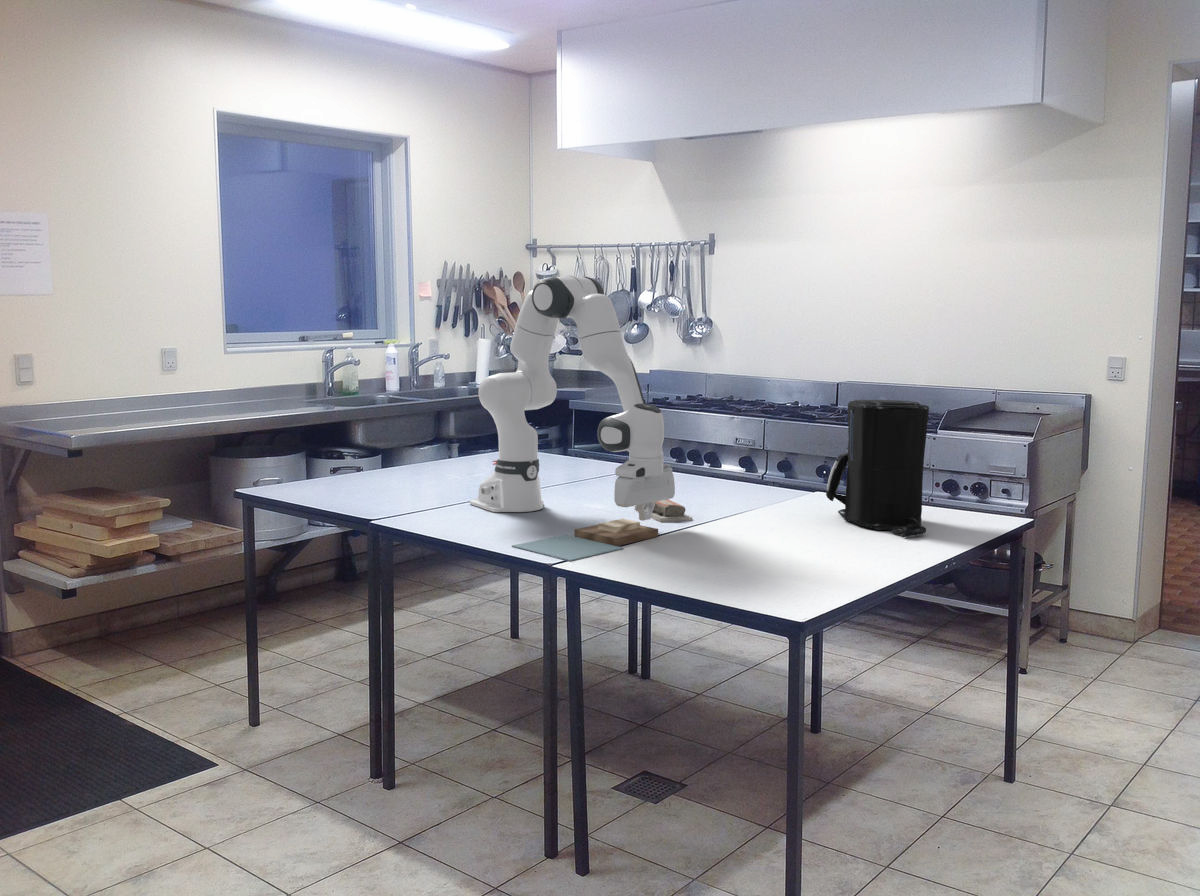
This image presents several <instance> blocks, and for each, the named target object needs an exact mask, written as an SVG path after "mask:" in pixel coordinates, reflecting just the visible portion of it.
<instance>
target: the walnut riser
mask: <svg viewBox="0 0 1200 896" xmlns="http://www.w3.org/2000/svg"><path fill="white" fill-rule="evenodd" d="M573 536H575V537H579V538H583V539H588V540H592V541H597V542H601V543H605V544H610V545H614V546H618V547H621V546H625V545H628V544H632V543H637V542H642V541H645V540H649V539H653V538H657V537H659V528H656V527H650V526H647V525H642V524H640V528H637V529H633V530H628V531H623V532H619V533H613V532H608V531H604V530H599V529H598V524H595V525H594V524H593V525H591V526H586V527H585V526H584V527H580V528H576V529H574V534H573Z"/></svg>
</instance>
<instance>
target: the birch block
mask: <svg viewBox="0 0 1200 896" xmlns="http://www.w3.org/2000/svg"><path fill="white" fill-rule="evenodd" d="M597 525H598V529H599V530H604V531H608V532H613V533H619V532H623V531H628V530H633V529H637V528H640V525H641V522H640V521H636V520H631V519H626V518H618V519H613V520H610V521H609V520H608V521H605V522H604V521H603V522H599V523H598V524H597Z"/></svg>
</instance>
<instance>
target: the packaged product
mask: <svg viewBox="0 0 1200 896" xmlns="http://www.w3.org/2000/svg"><path fill="white" fill-rule="evenodd" d="M646 506H647V505H646ZM635 510H636V511H635ZM644 510H646V507H645V508H644ZM634 511H635V512H637V511H638V510H637V508H636V506H634ZM651 518H652V520H653V521H657V522H658V521H659V522H658V523H667V522H668V523H669V522H670V523H671V521H672V522H685V521H693V516H690V515H688V514H686V507H685V506H684V505H681V504H680V503H677V502H676V501H672V500H671V499H667V500H662V501H657V502H655V507H654V509H653V511H652V514H651ZM684 520H685V521H684Z"/></svg>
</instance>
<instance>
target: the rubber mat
mask: <svg viewBox="0 0 1200 896" xmlns="http://www.w3.org/2000/svg"><path fill="white" fill-rule="evenodd" d="M511 547H512V548H515V549H519V550H522V551H523V550H524V551H528V552H532V553H535V552H536V554H539V553H541V554H540V555H543V554H545V555H544V556H547V555H549V556H548V557H551V556H554V557H553V558H555V557H557V558H556V559H559V558H561V559H560V560H563V559H564V560H563V561H568V562H573V561H577V560H581V559H582V560H583V559H586V558H590V557H595V556H598V555H603V554H607V553H612V552H616V551H620V550H624V547H623V546H614V545H610V544H605V543H601V542H597V541H592V540H588V539H583V538H579V537H575V536H574V535H569V534H566V533H565V534H561V535H556V536H551V537H546V538H542V539H537V540H532V541H527V542H522V543H518V544H513V545H511Z"/></svg>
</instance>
